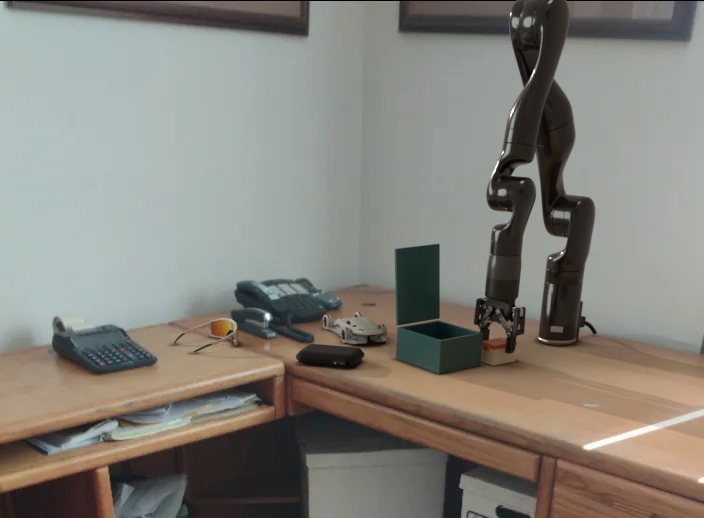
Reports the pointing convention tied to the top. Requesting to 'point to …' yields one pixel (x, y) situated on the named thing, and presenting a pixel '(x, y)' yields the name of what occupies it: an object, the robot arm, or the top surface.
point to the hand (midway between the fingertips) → (496, 349)
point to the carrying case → (330, 355)
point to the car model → (356, 329)
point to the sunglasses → (216, 331)
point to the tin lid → (417, 283)
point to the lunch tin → (439, 346)
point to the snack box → (496, 352)
